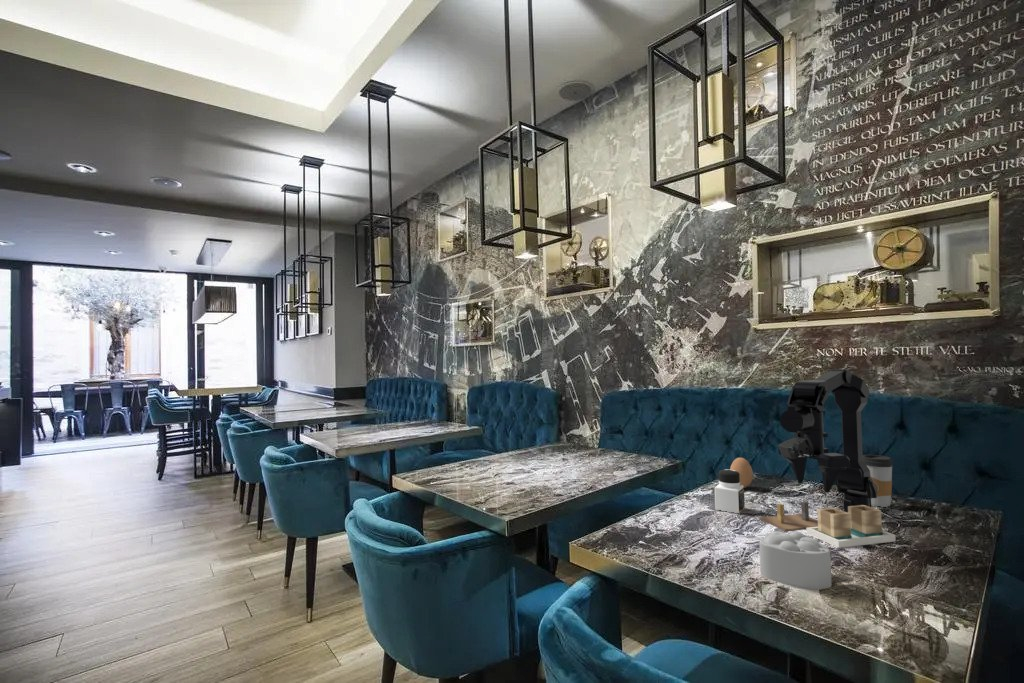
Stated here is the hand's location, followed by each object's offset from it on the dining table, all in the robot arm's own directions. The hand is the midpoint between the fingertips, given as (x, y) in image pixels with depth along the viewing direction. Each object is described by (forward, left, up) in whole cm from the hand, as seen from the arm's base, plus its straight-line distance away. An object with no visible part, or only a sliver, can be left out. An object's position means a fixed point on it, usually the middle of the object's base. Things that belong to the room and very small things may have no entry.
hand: (813, 487), depth 131 cm
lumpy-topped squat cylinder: (+23, +19, -13) cm, 33 cm away
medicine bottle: (+7, -25, -13) cm, 29 cm away
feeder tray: (-6, +5, -13) cm, 15 cm away
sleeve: (-11, +5, -12) cm, 17 cm away
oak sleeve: (-2, +5, -12) cm, 13 cm away
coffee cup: (-40, -17, -13) cm, 45 cm away
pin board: (-1, -8, -13) cm, 15 cm away
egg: (-12, -46, -13) cm, 49 cm away
